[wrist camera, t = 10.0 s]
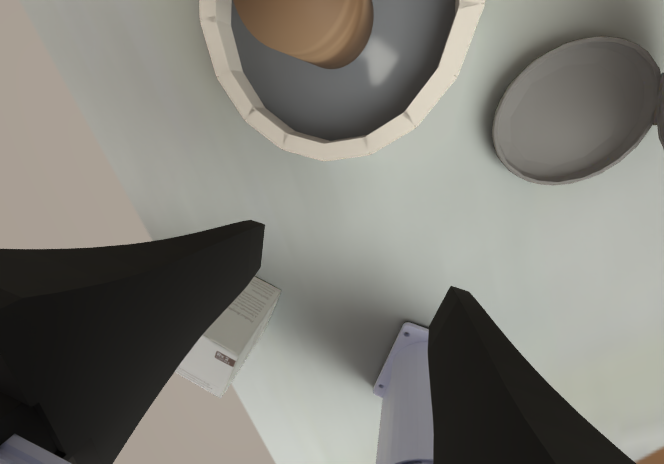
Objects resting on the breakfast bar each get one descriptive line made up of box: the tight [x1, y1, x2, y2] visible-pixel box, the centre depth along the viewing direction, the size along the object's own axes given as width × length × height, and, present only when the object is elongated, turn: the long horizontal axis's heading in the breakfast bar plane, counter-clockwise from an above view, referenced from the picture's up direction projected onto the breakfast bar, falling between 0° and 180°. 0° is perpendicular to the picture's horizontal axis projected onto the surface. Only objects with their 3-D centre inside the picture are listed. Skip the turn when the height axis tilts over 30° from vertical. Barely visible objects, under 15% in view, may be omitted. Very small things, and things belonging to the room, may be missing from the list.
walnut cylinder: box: [233, 0, 374, 69], centre depth 12 cm, size 4×4×6 cm
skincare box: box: [175, 277, 281, 398], centre depth 23 cm, size 6×6×7 cm
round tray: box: [199, 0, 485, 161], centre depth 14 cm, size 14×14×2 cm
